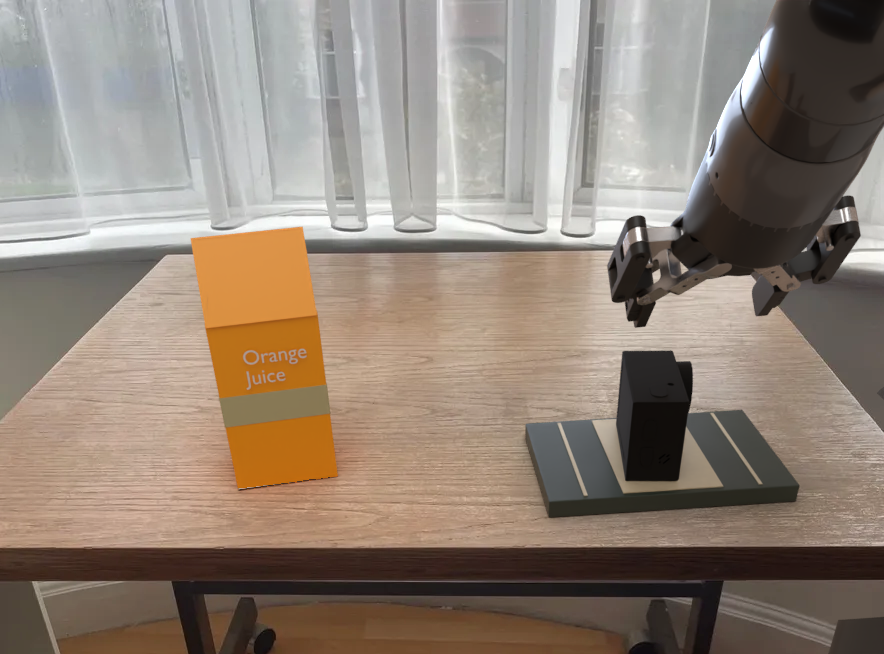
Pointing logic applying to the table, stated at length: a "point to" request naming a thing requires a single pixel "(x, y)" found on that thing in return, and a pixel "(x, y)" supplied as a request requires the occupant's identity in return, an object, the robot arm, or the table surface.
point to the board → (699, 485)
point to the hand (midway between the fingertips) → (698, 309)
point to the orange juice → (266, 355)
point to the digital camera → (653, 414)
